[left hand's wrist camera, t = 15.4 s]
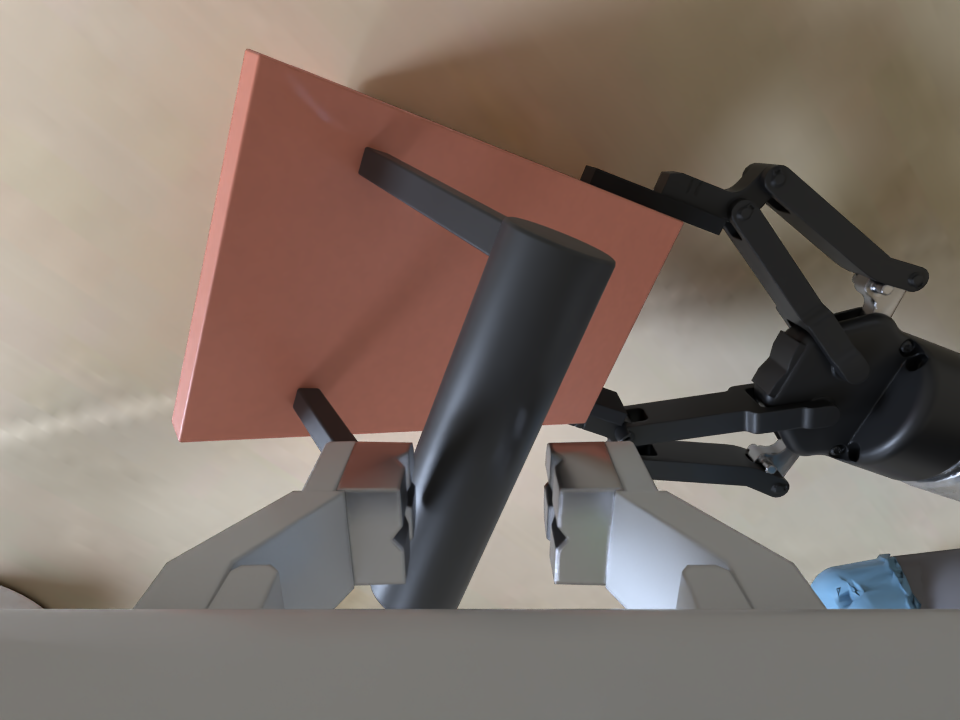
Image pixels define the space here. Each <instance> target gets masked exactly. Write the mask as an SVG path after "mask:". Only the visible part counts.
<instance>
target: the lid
mask: <svg viewBox="0 0 960 720" xmlns="http://www.w3.org/2000/svg"><path fill="white" fill-rule="evenodd" d="M682 226H683V221H680V220H678V219H675V218H673V217H670V216H668V215H665V214H663V213H660V212H658V211H655V210H653V209H650V208H648V207H645V206H643V205H640V204H638V203H635V202H632V201H630V200H627V199H625V198H622V197H620V196H617V195H615V194H612V193H610V192H607V191H605V190H602V189H600V188H597V187H595V186H592V185H590V184H587V183H585V182H582V181H580V180H577V179H575V178H572V177H570V176H567V175H565V174H562V173H560V172H557V171H555V170H552V169H550V168H547V167H545V166H542V165H540V164H537V163H535V162H532V161H530V160H527V159H525V158H522V157H519V156H517V155H514V154H512V153H509V152H507V151H504V150H502V149H499V148H497V147H494V146H492V145H489V144H487V143H484V142H482V141H479V140H477V139H474V138H472V137H469V136H467V135H464V134H462V133H459V132H457V131H454V130H452V129H449V128H447V127H444V126H442V125H439V124H437V123H434V122H432V121H429V120H427V119H424V118H422V117H419V116H417V115H414V114H412V113H409V112H407V111H404V110H401V109H399V108H396V107H394V106H391V105H389V104H386V103H384V102H381V101H379V100H376V99H374V98H371V97H369V96H366V95H364V94H361V93H359V92H356V91H354V90H351V89H349V88H346V87H344V86H341V85H339V84H336V83H334V82H331V81H329V80H326V79H324V78H321V77H319V76H316V75H314V74H311V73H309V72H306V71H304V70H301V69H299V68H296V67H294V66H291V65H288V64H286V63H283V62H281V61H278V60H276V59H273V58H271V57H268V56H266V55H263V54H261V53H258V52H256V51H253V50H251V49H246V51H245V55H244V60H243V65H242V70H241V75H240V80H239V85H238V90H237V95H236V100H235V105H234V110H233V115H232V120H231V125H230V130H229V135H228V140H227V145H226V150H225V155H224V160H223V165H222V170H221V175H220V180H219V185H218V190H217V195H216V201H215V206H214V211H213V216H212V221H211V226H210V231H209V236H208V241H207V246H206V251H205V256H204V261H203V266H202V271H201V276H200V281H199V286H198V291H197V296H196V301H195V306H194V311H193V316H192V321H191V326H190V331H189V336H188V341H187V346H186V351H185V357H184V362H183V367H182V372H181V377H180V382H179V387H178V392H177V397H176V402H175V407H174V412H173V417H172V423H173V426H174V429H175V432H176V435H177V437H178V440H179V442H198V441H219V440H240V439H261V438H282V437H303V436H311V437H312V439H313V440H314V442H315V443H316V445H317V446H318V448H319V450H320V451H321V452H322V450H323V448H324V446H325V444H326V443H328V442H338V441H356V442H358V441H357V440H356V439H355V437H354V436H353V434H367V433H388V432H409V431H423V432H422V434H421V437H420V439H419V442H418V445H417V447H416V450H415V453H414V463H415V465H414V471H413V476H412V482H413V484H414V485H415V486H416V520H415V530H414V537H413V539H412V540H411V541H410V561H409V567H408V572H407V578H406V584H387V585H370V586H371V589H372V592H373V594H374V596H375V597H376V599H377V600H378V602H379V603H380V604H381V605H382V606H383V607H384V608H385V609H457V608H458V606H459V604H460V601H461V599H462V597H463V595H464V593H465V591H466V588H467V586H468V584H469V582H470V580H471V578H472V575H473V573H474V571H475V569H476V567H477V565H478V562H479V560H480V558H481V556H482V554H483V552H484V549H485V547H486V545H487V543H488V541H489V539H490V537H491V534H492V532H493V530H494V528H495V526H496V524H497V521H498V519H499V517H500V515H501V513H502V511H503V508H504V506H505V504H506V502H507V500H508V498H509V495H510V493H511V491H512V489H513V487H514V485H515V482H516V480H517V478H518V476H519V474H520V472H521V469H522V467H523V465H524V463H525V461H526V459H527V456H528V454H529V452H530V450H531V448H532V446H533V443H534V441H535V439H536V437H537V435H538V433H539V430H540V428H541V426H542V425H556V424H578V423H585V422H586V421H587V419H588V417H589V415H590V412H591V410H592V408H593V406H594V404H595V402H596V400H597V398H598V396H599V394H600V392H601V390H602V388H603V386H604V384H605V382H606V380H607V378H608V376H609V374H610V372H611V370H612V368H613V366H614V364H615V362H616V360H617V358H618V356H619V354H620V352H621V349H622V347H623V345H624V343H625V341H626V339H627V337H628V335H629V333H630V331H631V329H632V327H633V325H634V323H635V321H636V319H637V317H638V315H639V313H640V311H641V309H642V307H643V305H644V303H645V301H646V299H647V297H648V295H649V293H650V291H651V289H652V287H653V284H654V282H655V280H656V278H657V276H658V274H659V272H660V270H661V268H662V266H663V264H664V262H665V260H666V258H667V256H668V254H669V252H670V250H671V248H672V246H673V244H674V242H675V240H676V238H677V236H678V234H679V232H680V230H681V228H682Z"/></svg>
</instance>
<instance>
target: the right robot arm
mask: <svg viewBox="0 0 960 720" xmlns="http://www.w3.org/2000/svg"><path fill="white" fill-rule="evenodd" d="M580 181H583V182H585V183H588V184H590V185H593V186H595V187H598V188H600V189H603V190H605V191H608V192H610V193H613V194H615V195H618V196H620V197H623V198H625V199H628V200H630V201H633V202H635V203H638V204H640V205H643V206H645V207H648V208H650V209H653V210H655V211H658V212H660V213H663V214H666V215H668V216H671V217H673V218H676V219H678V220H681V221H683V222H686V223H689V224H691V225H694V226H696V227H699V228H701V229H704V230H707V231H709V232H712V233H714V234H717V235H719V234H720V233H721V231H722V229H724V230H725V232H726V233H727V235H728V236H729V238H730V239H731V241H732V242H733V243H734V245H735V246H736V248H737V249H738V251H739V252H740V254H741V255H742V256H743V258H744V259H745V261H746V262H747V264H748V265H749V266H750V268H751V269H752V271H753V272H754V274H755V275H756V277H757V278H758V279H759V281H760V282H761V284H762V285H763V287H764V288H765V290H766V291H767V292H768V294H769V295H770V297H771V298H772V300H773V301H774V303H775V304H776V309H777V311H778V312H779V314H780V315H781V316H782V318H783V319H784V321H785V322H786V324H787V325H788V326H789V329H788V330H787V331H786V332H784V331H780V333H779V334H778V336H777V338H776V339H775V341H774V343H773V346H772V350H771V353H770V356H769V358H768V359H767V360H766V361H765V362H764V363H763V364H762V365H761V366H760V367H759V368H758V370H757V372H756V374H755V375H754V377H753V379H752V381H753V382H754V383H753V384H746V385H739V386H733V387H730V388H729V389H728V391H725V392H719V393H712V394H705V395H699V396H692V397H685V398H678V399H671V400H664V401H657V402H650V403H643V404H636V405H629V406H623V404H622V402H621V400H620V398H619V396H618V394H617V392H614V391H611V390H608V389H606V388H602V390H601V392H600V394H599V396H598V398H597V400H596V402H595V404H594V406H593V408H592V410H591V412H590V415H589V417H588V419H587V421H586V422H585V423H578V424H569V425H572V426H576V427H578V428H582V429H584V430H587V431H590V432H593V433H596V434H599V435H602V436H605V437H607V438H608V440H607V441H606V442H617V441H631V442H633V443H634V445H635V447H636V449H637V451H638V453H639V455H640V457H641V459H642V460H643V462H644V464H645V466H646V468H647V470H648V472H649V474H650V476H651V478H652V480H667V481H681V482H696V483H710V484H725V485H740V486H748V487H750V488H753V489H755V490H757V491H760V492H762V493H764V494H767V495H769V496H772V497H781V496H783V495H785V494H786V493H787V492H788V490H789V483H788V482H787V481H786V479H785V478H784V476H785V474H786V473H787V472H788V470H789V469H790V468H791V466H792V465H793V464H794V462H795V461H796V460H797V458H798V457H799V456H811V455H826V456H829V457H832V458H834V459H837V460H839V461H842V462H845V463H848V464H851V465H854V466H857V467H860V468H862V469H865V470H868V471H871V472H874V473H877V474H880V475H883V476H886V477H889V478H891V479H895V480H899V481H902V482H904V483H906V484H908V485H910V486H913V487H916V488H919V489H922V490H926V491H929V492H932V493H935V494H938V495H941V496H944V497H947V498H950V499H953V500H956V501H959V502H960V353H957V352H955V351H952V350H950V349H947V348H944V347H942V346H939V345H937V344H934V343H931V342H929V341H926V340H924V339H921V338H918V337H916V336H913V335H911V334H908V333H905V332H903V331H901V330H900V329H899V328H898V327H897V325H896V323H895V322H894V320H893V319H892V318H891V317H892V315H893V313H894V311H895V309H896V308H897V306H898V304H899V302H900V301H901V299H902V297H903V295H904V294H905V292H906V291H910V292H915V291H918V290H920V289H922V288H923V287H924V286H925V285H926V284H927V282H928V279H929V273H928V271H927V270H926V269H924V268H923V267H919V266H916V265H913V264H910V263H906V262H903V261H900V260H896V259H893V258H890V257H889V256H888V255H887V254H886V253H885V252H884V251H882V250H881V249H880V248H879V247H878V246H877V245H876V244H874V243H873V242H872V241H871V240H870V239H869V238H868V237H867V236H865V235H864V234H863V233H862V232H861V231H860V230H859V229H857V228H856V227H855V226H854V225H853V224H852V223H851V222H849V221H848V220H847V219H846V218H845V217H844V216H843V215H841V214H840V213H839V212H838V211H837V210H836V209H835V208H833V207H832V206H831V205H830V204H829V203H828V202H827V201H826V200H824V199H823V198H822V197H821V196H820V195H819V194H818V193H816V192H815V191H814V190H813V189H812V188H811V187H810V186H808V185H807V184H806V183H805V182H804V181H803V180H802V179H800V178H799V177H798V176H797V175H796V174H795V173H794V172H792V171H791V170H790V169H789V168H788V167H786V166H784V165H774V164H764V163H753V164H750V165H749V166H748V167H746V168H745V170H744V172H743V175H742V178H741V179H740V180H739V181H738V182H737V183H736V184H735V185H734V186H732V187H730V188H729V189H725V190H724V189H721V188H719V187H716V186H714V185H711V184H709V183H706V182H704V181H701V180H699V179H696V178H693V177H691V176H689V175H686V174H684V173H680V172H674V171H668V172H661V174H660V177H659V179H658V181H657V183H656V185H655V187H654V190H650V189H648V188H645V187H643V186H640V185H638V184H635V183H633V182H630V181H628V180H625V179H623V178H620V177H617V176H615V175H612V174H610V173H607V172H605V171H602V170H600V169H597V168H594V167H590V166H587V165H586V167H585V170H584V172H583V174H582V177H581V179H580ZM765 203H766V204H767V205H768V206H769V207H770V208H772V209H773V210H774V211H775V212H776V213H777V214H779V215H780V216H781V217H782V218H783V219H785V220H786V221H787V222H788V223H789V224H790V225H792V226H793V227H794V228H795V229H796V230H797V231H799V232H800V233H801V234H802V235H803V236H805V237H806V238H807V239H808V240H809V241H810V242H812V243H813V244H814V245H815V246H816V247H818V248H819V249H820V250H821V251H822V252H823V253H825V254H826V255H827V256H828V257H829V258H830V259H832V260H833V261H834V262H835V263H837V264H838V265H839V266H841V267H842V268H844V269H846V270H848V271H851V272H853V273H856V274H855V275H854V276H853V278H852V282H853V283H854V286H855V289H856V290H857V291H858V292H859V293H861V294H862V295H863V297H864V304H863V307H858V308H854V309H850V310H846V311H842V312H838V313H834V314H833V313H832V312H831V311H830V310H829V309H828V308H827V307H826V306H824V305H823V303H822V302H821V301H820V299H819V298H818V296H817V295H816V293H815V292H814V290H813V289H812V287H811V286H810V284H809V283H808V281H807V280H806V278H805V277H804V275H803V274H802V272H801V271H800V269H799V268H798V266H797V265H796V263H795V262H794V260H793V259H792V257H791V256H790V254H789V253H788V251H787V250H786V248H785V247H784V245H783V244H782V242H781V241H780V239H779V238H778V236H777V235H776V233H775V232H774V230H773V228H772V227H771V225H770V224H769V222H768V221H767V219H766V218H765V216H764V215H763V213H762V212H761V210H760V208H761V207H762V206H763V205H764V204H765ZM740 431H748V432H751V433H754V434H763V433H770V432H774V433H775V435H776V437H777V438H778V440H777V442H776V443H774V444H773V445H770V446H761V445H759V446H757V445H756V444H751V445H749V446H748V448H747V449H745V448H742V447H738V446H734V445H727V444H714V443H700V442H685V441H676V440H683V439H690V438H697V437H704V436H711V435H719V434H726V433H733V432H740ZM811 587H812V589H813V590H814V592H815V593H816V594H817V596H818V597H819V598H820V600H821V601H822V602H823V604H824V605H825V607H826V608H827V609H960V549H951V550H943V551H934V552H926V553H917V554H909V555H900V556H892V557H890V554H881V555H879V556H878V557H877V559H873V560H867V561H862V562H856V563H851V564H845V565H840V566H834V567H830V568H827V569H825V570H824V571H822V572H821V573H820V574H818V576H817V577H816V578H815V580H814V581H813V582H812V584H811Z"/></svg>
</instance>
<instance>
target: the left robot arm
mask: <svg viewBox="0 0 960 720" xmlns="http://www.w3.org/2000/svg"><path fill="white" fill-rule="evenodd" d="M414 465H415V463H414V449H413V444H412V443H403V442H356V441H338V442H328V443H326V444H325V446H324V448H323V450H322V452H321V454H320V456H319V458H318V460H317V462H316V464H315V466H314V468H313V470H312V472H311V474H310V476H309V478H308V480H307V482H306V484H305V486H304V487H303V489H302V491H292V492H291V493H289V494H287V495H285V496H284V497H282V498H280V499H278V500H276V501H275V502H273V503H271V504H269V505H268V506H266V507H264V508H262V509H261V510H259V511H257V512H255V513H254V514H252V515H250V516H248V517H246V518H245V519H243V520H241V521H239V522H238V523H236V524H234V525H232V526H231V527H229V528H227V529H225V530H224V531H222V532H220V533H218V534H216V535H215V536H213V537H211V538H209V539H208V540H206V541H204V542H202V543H201V544H199V545H197V546H195V547H194V548H192V549H190V550H188V551H186V552H185V553H183V554H181V555H179V556H178V557H176V558H174V559H172V560H171V561H169V562H167V563H166V565H165V566H164V567H163V569H162V570H161V571H160V573H159V574H158V575H157V577H156V578H155V579H154V581H153V582H152V584H151V585H150V586H149V588H148V589H147V590H146V592H145V593H144V594H143V596H142V597H141V598H140V600H139V601H138V602H137V604H136V605H135V606H134V608H133V609H43V608H42V607H41V606H39V605H38V604H36V603H35V602H33V601H32V600H30V599H28V598H27V597H25V596H23V595H21V594H19V593H17V592H15V591H13V590H11V589H8V588H6V587H3V586H0V720H960V609H827V608H826V607H825V605H824V604H823V602H822V601H821V600H820V598H819V597H818V596H817V594H816V593H815V592H814V590H813V589H812V587H811V586H810V585H809V583H808V582H807V581H806V579H805V578H804V577H803V575H802V574H801V572H800V571H799V570H798V568H797V567H796V566H795V564H794V563H792V562H791V561H789V560H787V559H785V558H784V557H782V556H780V555H778V554H777V553H775V552H773V551H771V550H770V549H768V548H766V547H764V546H762V545H761V544H759V543H757V542H755V541H754V540H752V539H750V538H748V537H747V536H745V535H743V534H741V533H740V532H738V531H736V530H734V529H733V528H731V527H729V526H727V525H726V524H724V523H722V522H720V521H719V520H717V519H715V518H713V517H711V516H710V515H708V514H706V513H704V512H703V511H701V510H699V509H697V508H696V507H694V506H692V505H690V504H689V503H687V502H685V501H683V500H682V499H680V498H678V497H676V496H675V495H673V494H671V493H669V492H668V491H658V490H657V488H656V486H655V484H654V482H653V480H652V478H651V476H650V474H649V472H648V470H647V468H646V466H645V464H644V462H643V460H642V459H641V457H640V455H639V453H638V451H637V449H636V447H635V445H634V443H633V442H631V441H617V442H569V443H548V444H547V449H546V461H545V466H546V471H547V476H548V482H547V483H546V485H545V486H544V522H545V531H546V537H547V539H548V540H549V541H550V561H551V567H552V573H553V578H554V584H572V585H606V589H607V590H608V591H609V592H610V593H611V594H612V595H613V596H614V597H615V598H616V599H617V600H618V601H619V602H620V603H621V604H622V605H623V606H624V607H625V608H626V609H334V608H335V607H336V606H337V605H338V604H339V603H340V602H341V601H342V600H343V599H344V598H345V597H346V596H347V595H348V594H349V593H350V592H351V591H352V590H353V589H354V585H387V584H406V578H407V572H408V567H409V561H410V541H411V540H412V539H413V537H414V530H415V520H416V486H415V485H414V484H413V482H412V476H413V471H414Z"/></svg>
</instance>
